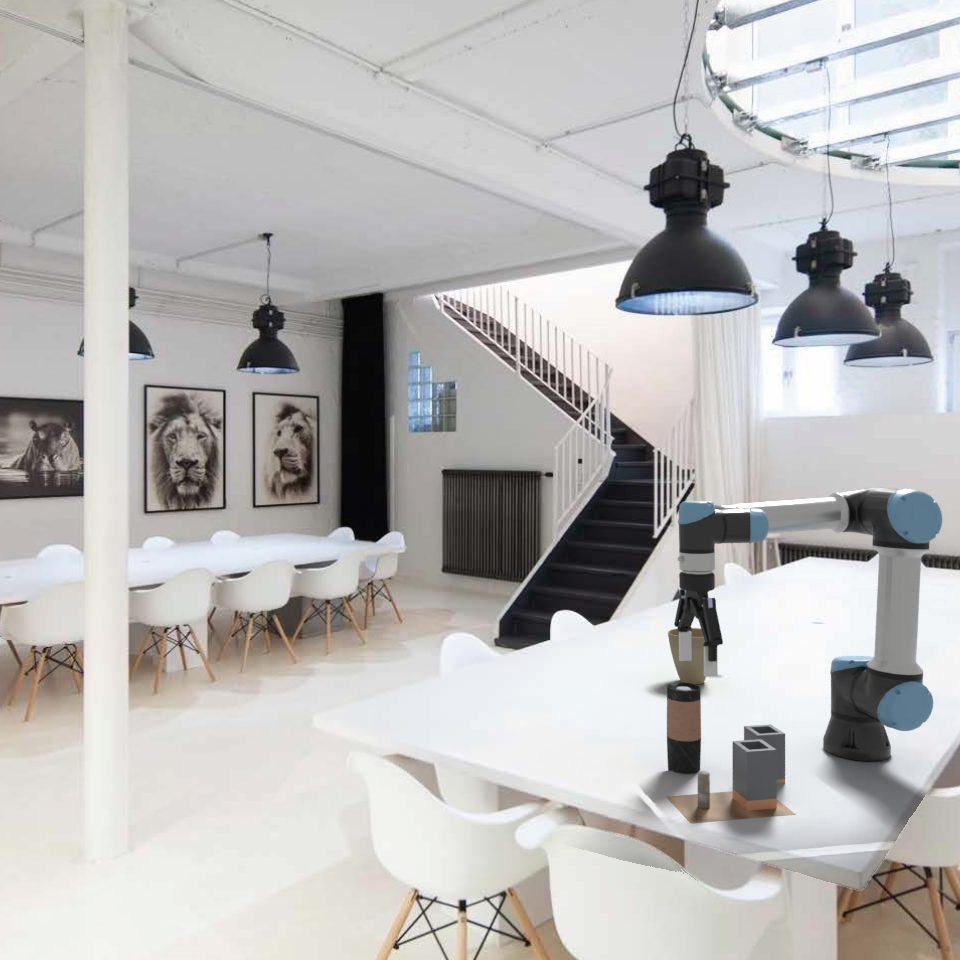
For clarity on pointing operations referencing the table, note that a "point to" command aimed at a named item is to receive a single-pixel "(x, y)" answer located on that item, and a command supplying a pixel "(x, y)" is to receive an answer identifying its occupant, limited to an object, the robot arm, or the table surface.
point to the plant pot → (695, 667)
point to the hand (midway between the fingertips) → (697, 668)
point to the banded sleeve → (773, 739)
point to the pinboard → (718, 805)
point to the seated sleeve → (754, 774)
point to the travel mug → (684, 728)
